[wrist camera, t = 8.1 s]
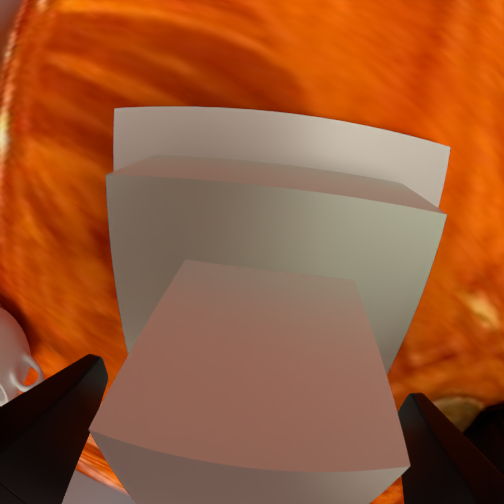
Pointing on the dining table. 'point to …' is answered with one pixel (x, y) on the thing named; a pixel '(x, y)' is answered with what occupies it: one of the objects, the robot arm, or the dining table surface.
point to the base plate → (280, 143)
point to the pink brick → (253, 395)
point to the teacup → (14, 358)
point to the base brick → (270, 233)
